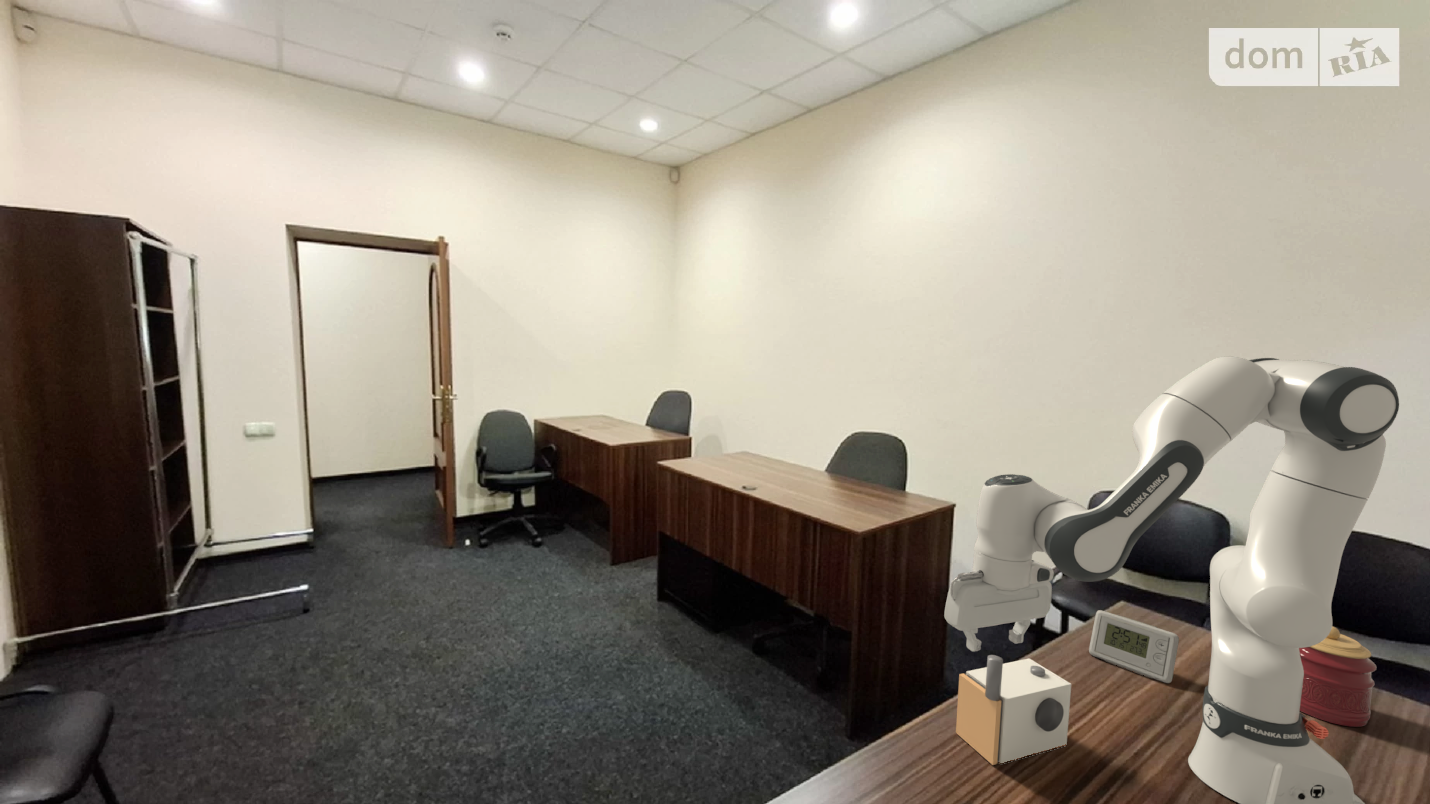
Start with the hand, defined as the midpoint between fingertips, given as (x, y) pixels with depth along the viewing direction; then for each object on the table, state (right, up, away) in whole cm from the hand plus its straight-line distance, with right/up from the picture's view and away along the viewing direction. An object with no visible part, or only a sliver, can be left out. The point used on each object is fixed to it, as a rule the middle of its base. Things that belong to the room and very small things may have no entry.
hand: (994, 645), depth 97 cm
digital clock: (+48, -20, +33) cm, 62 cm away
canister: (+77, -21, +19) cm, 83 cm away
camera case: (+7, -21, +8) cm, 23 cm away
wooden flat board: (-1, -21, +5) cm, 21 cm away
